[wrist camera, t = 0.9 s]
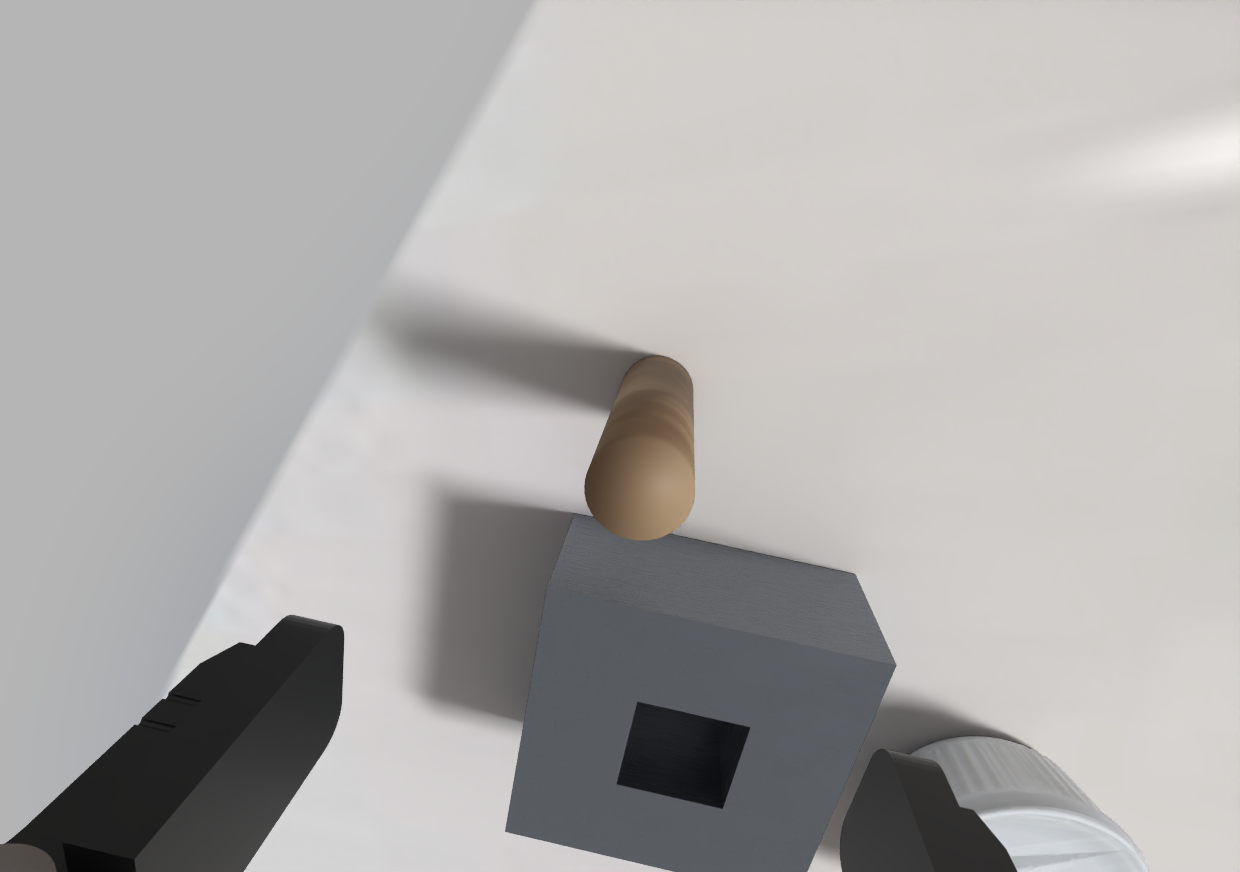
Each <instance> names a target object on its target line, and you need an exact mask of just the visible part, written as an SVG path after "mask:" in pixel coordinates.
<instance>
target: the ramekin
mask: <svg viewBox="0 0 1240 872" xmlns="http://www.w3.org/2000/svg"><path fill="white" fill-rule="evenodd" d="M909 755H913V756H917V757H922V758H926V759H931V760H934V761H936V762H937V763H938V764H939V765H940V767H941V768H942V770H943V772H944V773H945V776H946V778H947V780H948V782H949V784H950V787H951V789H952V791H953V793H954V795H955V798H956V800H957V802H958V804H959V806H960V807H963V808H968V809H972V810H974V811H975V812H976V813H977V815H978V816H979V817H980V818H981V819H982V821H983V822H984V823H985V824H986V825H987V827H988V828H989V829H990V830H991V831H992V832H993V834H994V835H995V836H996V837H997V838H998V840H999V841H1000V842H1001V843H1002V844H1003V846H1004V847H1005V848H1006V849H1007V851H1008V853H1009V855H1010V857H1011V859H1012V861H1013V863H1014V865H1015V867H1016V869H1017V871H1018V872H1151V870H1150V868H1149V865H1148V863H1147V861H1146V859H1145V857H1144V855H1143V854H1142V852H1141V850H1140V849H1139V848H1138V847H1137V845H1136V844H1135V843H1134V841H1133V840H1132V839H1131V838H1130V836H1129V835H1128V834H1127V833H1126V832H1125V831H1124V829H1122V828H1121V827H1120V826H1119V825H1118V824H1117V823H1116V822H1115V821H1114V820H1112V819H1111V818H1110V817H1108V816H1107V815H1106V814H1104V813H1103V812H1102V811H1101V810H1100V809H1099V808H1098V807H1097V806H1096V805H1095V804H1094V803H1093V802H1092V801H1091V799H1090V798H1089V797H1088V796H1087V795H1086V794H1085V793H1084V792H1083V791H1082V790H1081V789H1080V788H1079V787H1078V786H1077V785H1076V784H1075V783H1074V781H1073V780H1072V779H1071V778H1070V777H1069V776H1068V775H1067V774H1066V773H1065V772H1064V771H1063V770H1062V769H1061V768H1060V767H1059V766H1057V765H1056V764H1055V763H1053V762H1052V761H1051V760H1050V759H1048V758H1047V757H1045V756H1043V755H1041V754H1040V753H1038V752H1037V751H1035V750H1032V749H1029V748H1028V747H1026V746H1024V745H1021V744H1017V743H1014V742H1011V741H1007V740H1003V739H999V738H993V737H985V736H964V737H955V738H950V739H945V740H941V741H937V742H934V743H932V744H929V745H926V746H924V747H922V748H920V749H918V750H916V751H914V752H913V753H911V754H909Z"/></svg>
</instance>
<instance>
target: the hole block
mask: <svg viewBox="0 0 1240 872" xmlns="http://www.w3.org/2000/svg"><path fill="white" fill-rule="evenodd" d="M895 668H896V663H895V661H894V659H893V656H892V654H891V652H890V650H889V648H888V645H887V643H886V641H885V639H884V636H883V634H882V632H881V630H880V628H879V625H878V623H877V621H876V619H875V617H874V614H873V612H872V610H871V608H870V605H869V603H868V601H867V599H866V597H865V594H864V592H863V590H862V588H861V586H860V583H859V581H858V579H857V577H856V575H855V574H851V573H846V572H842V571H837V570H832V569H828V568H823V567H819V566H814V565H809V564H805V563H800V562H796V561H791V560H787V559H782V558H777V557H773V556H768V555H764V554H759V553H754V552H750V551H745V550H741V549H736V548H731V547H727V546H722V545H718V544H713V543H708V542H704V541H699V540H695V539H690V538H686V537H681V536H676V535H672V534H667V535H665V536H663V537H660V538H657V539H652V540H643V541H642V540H631V539H626V538H623V537H620V536H618V535H615V534H613V533H612V532H610V531H608V530H607V529H606V528H604V527H603V526H602V525H601V524H600V523H599V522H598V521H597V520H596V519H595V518H594V517H589V516H585V515H580V514H574V517H573V519H572V522H571V525H570V527H569V530H568V533H567V535H566V538H565V541H564V543H563V546H562V549H561V551H560V554H559V557H558V559H557V562H556V565H555V567H554V570H553V573H552V575H551V578H550V581H549V583H548V586H547V590H546V595H545V601H544V607H543V613H542V619H541V625H540V631H539V636H538V642H537V648H536V654H535V660H534V666H533V672H532V677H531V683H530V689H529V695H528V701H527V707H526V712H525V718H524V724H523V730H522V736H521V742H520V748H519V753H518V759H517V765H516V771H515V777H514V783H513V789H512V794H511V800H510V806H509V812H508V818H507V824H506V830H505V832H509V833H513V834H517V835H521V836H526V837H530V838H534V839H538V840H543V841H547V842H551V843H555V844H559V845H564V846H568V847H572V848H576V849H581V850H585V851H589V852H593V853H598V854H602V855H606V856H610V857H615V858H619V859H623V860H627V861H632V862H636V863H640V864H644V865H648V866H653V867H657V868H661V869H665V870H670V871H674V872H807V871H808V869H809V867H810V864H811V862H812V860H813V857H814V855H815V853H816V850H817V848H818V846H819V843H820V841H821V839H822V837H823V834H824V832H825V830H826V827H827V825H828V823H829V820H830V818H831V816H832V813H833V811H834V809H835V806H836V804H837V802H838V799H839V797H840V795H841V793H842V790H843V788H844V786H845V783H846V781H847V779H848V776H849V774H850V772H851V769H852V767H853V765H854V762H855V760H856V758H857V756H858V753H859V751H860V749H861V746H862V744H863V742H864V739H865V737H866V735H867V732H868V730H869V728H870V725H871V723H872V721H873V718H874V716H875V714H876V712H877V709H878V707H879V705H880V702H881V700H882V698H883V695H884V693H885V691H886V688H887V686H888V684H889V681H890V679H891V677H892V675H893V672H894V670H895Z"/></svg>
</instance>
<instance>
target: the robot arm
mask: <svg viewBox="0 0 1240 872" xmlns="http://www.w3.org/2000/svg"><path fill="white" fill-rule="evenodd" d="M343 657H344V631H343V628H342V627H341V626H339V625H336V624H331V623H327V622H322V621H318V620H313V619H309V618H304V617H300V616H295V615H289V616H286V617H285V618H283V619H282V620H281V621H280V622H279V623H278V624H277V625H276V626H275V627H274V628H273V629H272V630H271V631H270V632H269V633H268V634H267V635H266V636H265V637H264V638H263V639H262V640H261V641H260V642H259V643H258V644H257V645H256V646H254V645H250V644H246V643H241V642H240V643H238V644H236V645H234V646H232V647H230V648H228V649H226V650H225V651H223V652H221V653H219V654H217V655H215V656H213V657H211V658H210V659H208V660H206V661H204V662H202V663H200V664H199V665H198V666H197V667H196V668H195V669H194V670H193V671H192V672H190V673H189V674H188V675H187V676H186V677H185V678H184V679H183V680H182V681H181V682H180V683H179V684H178V685H177V686H176V687H174V688H173V689H172V690H171V691H170V692H169V694H168V697H167V698H166V699H162V700H161V701H159V702H158V703H157V704H156V705H155V706H154V707H153V708H152V709H151V710H150V711H149V712H148V713H147V714H146V715H145V716H144V717H142V720H141V722H140V724H139V725H134V726H133V727H132V728H131V729H130V730H129V731H127V732H126V734H124V735H123V736H122V737H121V738H120V739H119V740H118V741H117V742H116V743H115V744H114V745H112V746H111V747H110V748H109V749H108V750H107V751H106V752H105V753H104V754H103V755H102V756H101V757H100V758H99V759H97V760H96V761H95V762H94V763H93V764H92V765H91V766H90V767H89V768H88V769H87V770H86V771H85V772H84V773H82V774H81V775H80V776H79V777H78V778H77V779H76V780H75V781H74V782H73V783H72V784H71V785H70V786H69V787H68V788H66V789H65V790H64V791H63V792H62V793H61V794H60V795H59V796H58V797H57V798H56V799H55V800H54V801H53V802H51V804H49V805H48V806H47V807H46V808H45V809H44V810H43V811H42V812H41V813H40V814H39V815H38V816H37V817H35V818H34V819H33V820H32V821H31V822H30V823H29V824H28V825H27V826H26V827H25V828H24V829H22V830H21V831H20V832H19V833H18V834H17V835H15V836H14V837H13V838H12V839H10V840H9V841H8V842H6V843H5V844H0V872H244V870H245V869H246V867H247V866H248V864H249V863H250V861H251V860H252V858H253V857H254V855H255V854H256V852H257V851H258V849H259V848H260V846H261V845H262V843H263V842H264V840H265V839H266V837H267V836H268V834H269V833H270V831H271V830H272V828H273V827H274V825H275V824H276V822H277V821H278V819H279V818H280V816H281V815H282V813H283V812H284V810H285V809H286V807H287V806H288V804H289V803H290V801H291V800H292V798H293V797H294V795H295V794H296V792H297V791H298V789H299V788H300V786H301V785H302V783H303V782H304V780H305V779H306V777H307V776H308V774H309V773H310V771H311V770H312V768H313V767H314V765H315V764H316V762H317V761H318V759H319V758H320V756H321V755H322V753H323V752H324V750H325V749H326V747H327V745H328V743H329V742H330V740H331V738H332V735H333V733H334V731H335V728H336V725H337V723H338V719H339V716H340V711H341V706H342V685H343ZM840 860H841V867H842V872H1018V871H1017V869H1016V867H1015V865H1014V863H1013V861H1012V859H1011V857H1010V855H1009V853H1008V851H1007V849H1006V848H1005V847H1004V846H1003V844H1002V843H1001V842H1000V841H999V840H998V838H997V837H996V836H995V835H994V834H993V832H992V831H991V830H990V829H989V828H988V827H987V825H986V824H985V823H984V822H983V821H982V819H981V818H980V817H979V816H978V815H977V813H976V812H975V811H974V810H972V809H968V808H963V807H960V806H959V804H958V802H957V800H956V798H955V795H954V793H953V791H952V789H951V787H950V784H949V782H948V780H947V778H946V776H945V773H944V772H943V770H942V768H941V767H940V765H939V764H938V763H937V762H936V761H934V760H931V759H926V758H922V757H917V756H913V755H908V754H904V753H899V752H895V751H890V750H886V749H879V750H877V751H876V752H875V753H874V754H873V756H872V758H871V760H870V762H869V765H868V767H867V769H866V772H865V774H864V776H863V778H862V781H861V783H860V785H859V787H858V790H857V792H856V794H855V796H854V799H853V801H852V803H851V805H850V808H849V810H848V812H847V814H846V817H845V819H844V822H843V826H842V831H841V838H840Z"/></svg>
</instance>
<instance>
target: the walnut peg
mask: <svg viewBox="0 0 1240 872" xmlns="http://www.w3.org/2000/svg"><path fill="white" fill-rule="evenodd" d="M584 487H585V498H586V502H587V505H588V507H589V509H590V511H591V513H592V515H593V516H594V518H595V519H596V520H597V521H598V522H599V523H600V524H601V525H602V526H603V527H604V528H606V529H607V530H608V531H610V532H612V533H613V534H615V535H618V536H620V537H623V538H626V539H631V540H642V541H643V540H652V539H657V538H660V537H663V536H665V535H667V534H670V533H671V532H673V531H674V530H676V529H677V528H678V527H679V526H680V525H681V524H682V523H683V522H684V521H685V520H686V518H687V517H688V515H689V513H690V511H691V509H692V506H693V503H694V497H695V474H694V413H693V384H692V380H691V378H690V375H689V374H688V372H687V371H686V369H685V368H684V367H683V366H682V365H681V364H680V363H678V362H677V361H675V360H673V359H671V358H668V357H664V356H650V357H646V358H643V359H641V360H639V361H637V362H636V363H635V364H633V365H632V366H631V367H630V369H629V370H628V371H627V373H626V375H625V377H624V379H623V382H622V384H621V387H620V389H619V392H618V395H617V397H616V400H615V402H614V405H613V408H612V410H611V413H610V415H609V418H608V420H607V423H606V426H605V428H604V431H603V433H602V436H601V438H600V441H599V444H598V446H597V449H596V451H595V454H594V456H593V459H592V462H591V464H590V467H589V469H588V472H587V475H586V479H585V486H584Z"/></svg>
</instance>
